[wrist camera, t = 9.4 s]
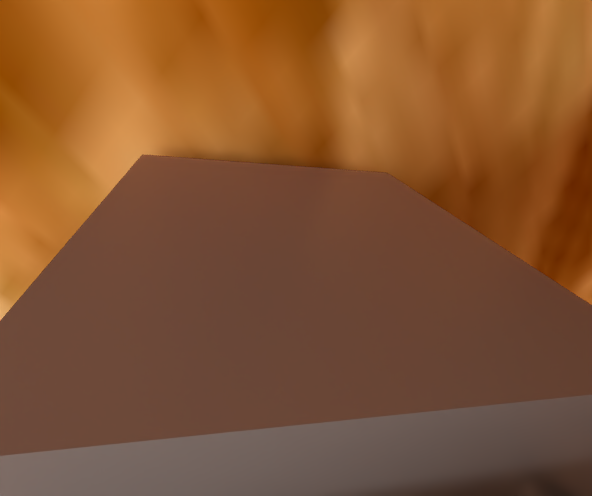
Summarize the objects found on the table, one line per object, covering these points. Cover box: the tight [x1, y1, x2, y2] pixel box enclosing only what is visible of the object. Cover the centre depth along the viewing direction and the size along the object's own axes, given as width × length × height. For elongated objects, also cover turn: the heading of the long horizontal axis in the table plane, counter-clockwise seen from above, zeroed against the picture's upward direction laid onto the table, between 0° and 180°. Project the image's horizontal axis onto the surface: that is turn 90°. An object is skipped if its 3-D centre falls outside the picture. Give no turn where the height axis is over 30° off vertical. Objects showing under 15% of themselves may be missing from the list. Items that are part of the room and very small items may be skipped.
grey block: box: [0, 155, 592, 496], centre depth 9 cm, size 8×8×9 cm
